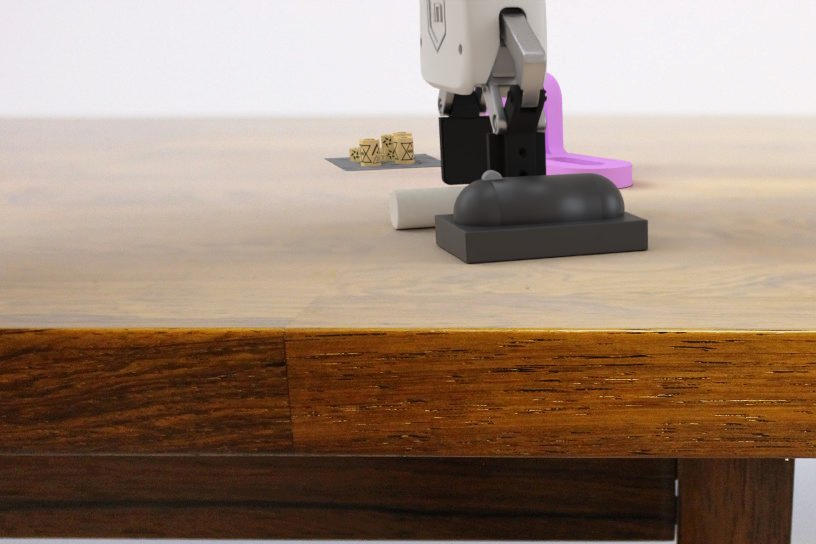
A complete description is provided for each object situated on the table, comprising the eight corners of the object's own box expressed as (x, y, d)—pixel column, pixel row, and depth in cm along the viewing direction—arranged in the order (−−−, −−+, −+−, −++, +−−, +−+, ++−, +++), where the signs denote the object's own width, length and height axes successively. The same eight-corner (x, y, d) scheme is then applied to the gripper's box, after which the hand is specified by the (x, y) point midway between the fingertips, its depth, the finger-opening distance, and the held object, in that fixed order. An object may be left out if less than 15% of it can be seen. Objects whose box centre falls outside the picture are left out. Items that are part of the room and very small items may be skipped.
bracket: (472, 172, 108) (467, 74, 106) (532, 166, 112) (529, 70, 110) (587, 192, 99) (585, 85, 97) (648, 184, 103) (648, 81, 101)
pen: (400, 227, 84) (395, 184, 83) (390, 230, 86) (386, 188, 86) (602, 214, 89) (598, 173, 88) (588, 217, 91) (584, 177, 91)
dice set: (410, 156, 117) (409, 131, 117) (427, 163, 113) (426, 138, 112) (346, 159, 115) (344, 134, 115) (361, 167, 111) (359, 140, 110)
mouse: (466, 263, 75) (462, 180, 74) (435, 244, 80) (431, 165, 79) (648, 249, 79) (647, 170, 78) (608, 232, 84) (606, 157, 83)
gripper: (375, -117, 87) (393, 178, 92) (456, -133, 72) (471, 220, 78) (498, -113, 90) (508, 173, 95) (600, -128, 75) (605, 212, 81)
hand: (492, 194), depth 87 cm, fingers open, 9 cm apart
